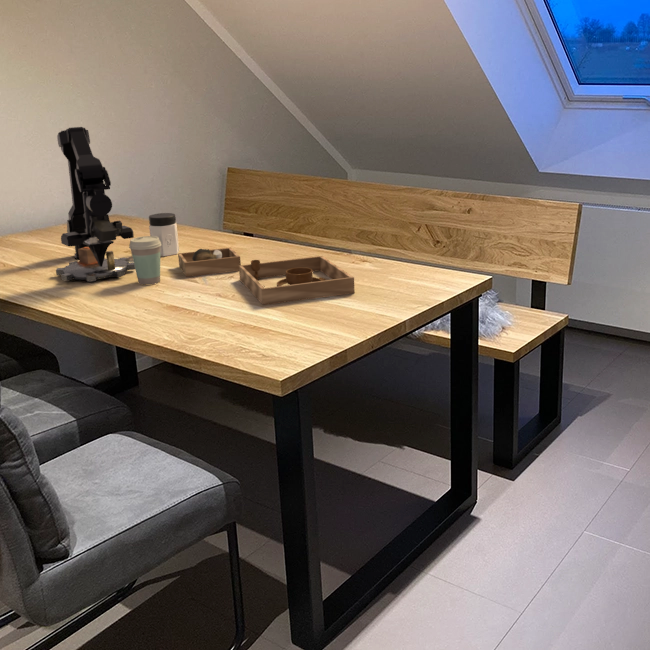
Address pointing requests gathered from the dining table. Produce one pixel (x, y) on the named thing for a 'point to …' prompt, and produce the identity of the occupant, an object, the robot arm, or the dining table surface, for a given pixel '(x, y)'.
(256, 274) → the place setting
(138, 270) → the coffee cup
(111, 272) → the sprocket
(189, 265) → the open wooden box
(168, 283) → the dining table surface
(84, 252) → the link block
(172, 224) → the jar
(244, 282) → the saucer tray frame
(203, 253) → the eagle figurine
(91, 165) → the robot arm
